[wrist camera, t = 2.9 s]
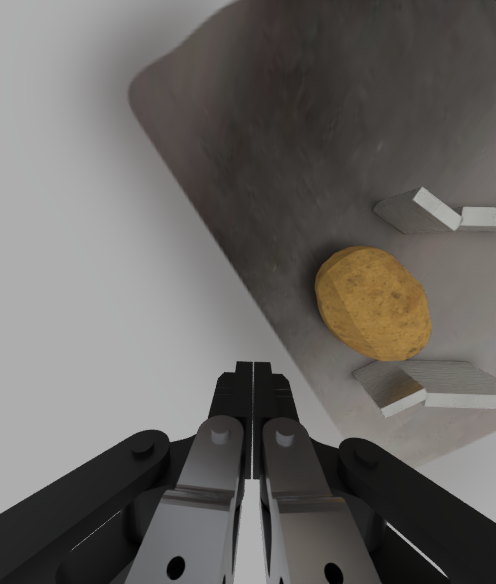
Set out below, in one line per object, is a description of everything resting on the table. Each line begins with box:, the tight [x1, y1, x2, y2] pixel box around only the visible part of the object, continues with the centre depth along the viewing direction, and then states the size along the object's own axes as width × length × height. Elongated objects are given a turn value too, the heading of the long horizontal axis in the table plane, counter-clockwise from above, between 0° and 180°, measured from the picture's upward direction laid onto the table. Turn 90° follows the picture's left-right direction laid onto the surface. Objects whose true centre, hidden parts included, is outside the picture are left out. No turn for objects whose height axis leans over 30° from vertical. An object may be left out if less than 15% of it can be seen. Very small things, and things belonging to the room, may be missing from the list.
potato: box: [314, 246, 432, 361], centre depth 25 cm, size 10×13×9 cm
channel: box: [352, 187, 496, 418], centre depth 25 cm, size 22×15×8 cm
